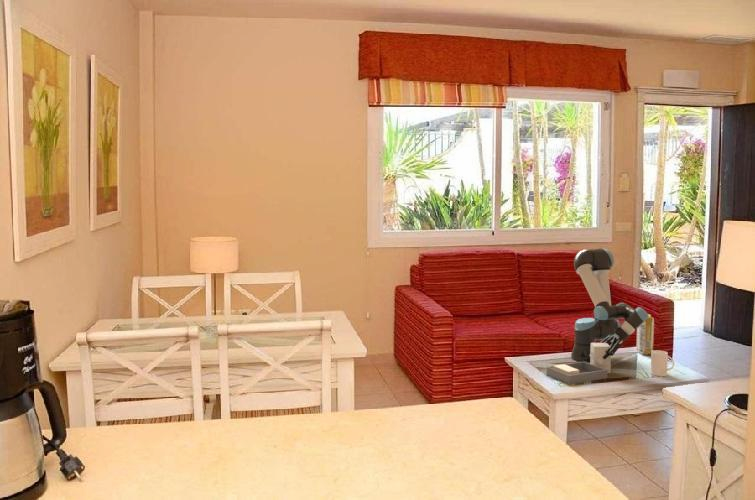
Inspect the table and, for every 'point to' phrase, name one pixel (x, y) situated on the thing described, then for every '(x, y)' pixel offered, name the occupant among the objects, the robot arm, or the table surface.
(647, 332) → the juice carton
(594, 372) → the tray
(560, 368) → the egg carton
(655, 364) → the mug
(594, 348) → the supplement box
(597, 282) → the robot arm
